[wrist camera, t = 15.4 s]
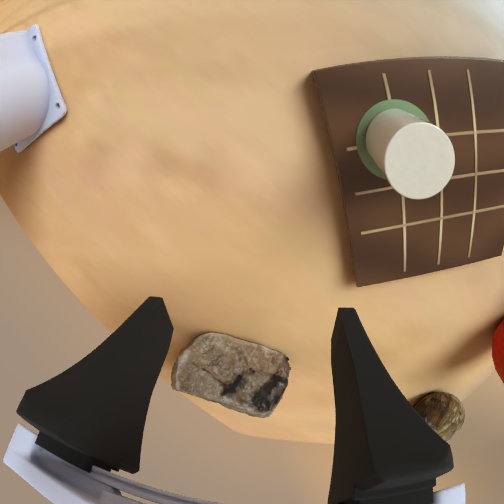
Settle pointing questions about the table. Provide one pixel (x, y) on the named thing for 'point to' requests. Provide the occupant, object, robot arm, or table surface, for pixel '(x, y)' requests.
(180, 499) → the robot arm
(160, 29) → the table surface
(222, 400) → the stone
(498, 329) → the apple
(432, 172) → the white cylinder
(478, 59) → the game board
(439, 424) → the seashell
